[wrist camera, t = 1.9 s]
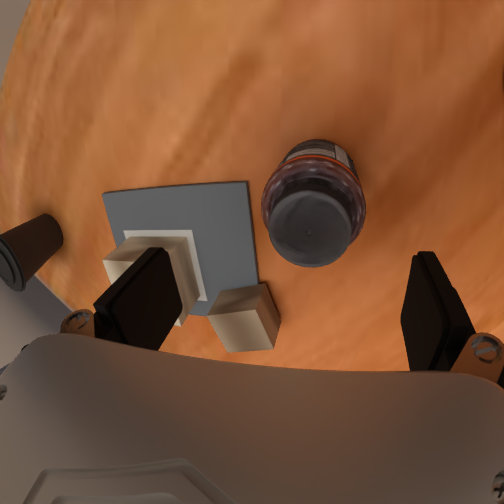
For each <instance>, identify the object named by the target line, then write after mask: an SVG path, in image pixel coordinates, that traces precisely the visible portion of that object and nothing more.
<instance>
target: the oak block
mask: <svg viewBox="0 0 504 504" xmlns="http://www.w3.org/2000/svg"><path fill="white" fill-rule="evenodd" d="M207 317H208V319H209V321H210V323H211V324H212V326H213V328H214V330H215V331H216V333H217V335H218V337H219V338H220V340H221V342H222V344H223V345H224V347H225V349H226V350H227V352H243V351H256V350H268V349H274V346H275V342H276V339H277V335H278V331H279V327H280V323H281V320H280V318H279V316H278V313H277V311H276V308H275V306H274V303H273V301H272V298H271V296H270V294H269V291H268V289H267V286H266V284H265V283H264V284H258V285H253V286H247V287H241V288H235V289H229V290H223V291H220V293H219V294H218V296H217V298H216V300H215V302H214V303H213V305H212V307H211V309H210V311H209V313H208V314H207Z"/></svg>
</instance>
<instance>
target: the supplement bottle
mask: <svg viewBox="0 0 504 504" xmlns="http://www.w3.org/2000/svg"><path fill="white" fill-rule="evenodd" d="M261 211H262V217H263V221H264V224H265V226H266V228H267V230H268V232H269V237H270V240H271V242H272V244H273V246H274V248H275V249H276V251H277V252H278V253H279V254H280V255H281V256H282V257H283V258H285V259H286V260H287V261H289V262H291V263H293V264H295V265H299V266H303V267H321V266H324V265H328V264H330V263H332V262H334V261H335V260H337V259H338V258H339V257H340V256H341V255H342V254H343V253H344V252H345V250H346V249H347V247H348V246H349V245H350V244H351V243H352V242H353V241H354V240H355V239H356V238H357V236H358V235H359V233H360V231H361V229H362V228H363V224H364V220H365V214H366V203H365V198H364V194H363V191H362V186H361V184H360V181H359V178H358V175H357V173H356V170H355V167H354V164H353V160H351V158H350V157H349V155H348V154H347V153H346V152H345V151H344V150H343V149H342V148H341V147H339V146H338V145H336V144H335V143H332V142H330V141H327V140H320V139H314V140H308V141H305V142H303V143H300V144H298V145H297V146H296V147H294V148H293V149H292V150H291V151H290V152H289V153H288V154H287V155H286V157H285V158H284V159H283V161H282V162H281V163H280V165H279V166H278V167H277V169H276V170H275V171H274V173H273V174H272V175H271V177H270V179H269V180H268V182H267V184H266V186H265V188H264V192H263V195H262V201H261Z"/></svg>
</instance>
